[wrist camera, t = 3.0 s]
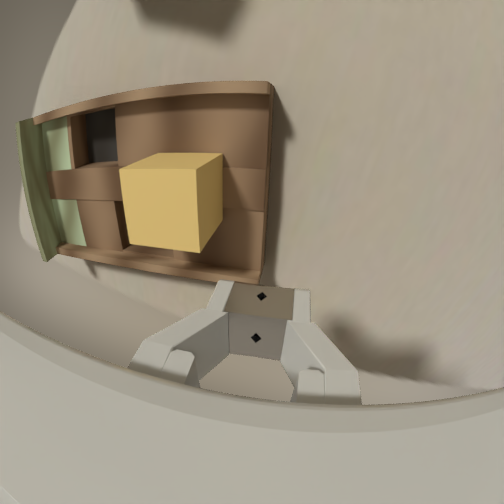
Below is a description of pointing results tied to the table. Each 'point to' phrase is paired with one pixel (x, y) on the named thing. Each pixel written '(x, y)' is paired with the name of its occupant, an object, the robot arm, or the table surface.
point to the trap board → (142, 146)
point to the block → (173, 199)
